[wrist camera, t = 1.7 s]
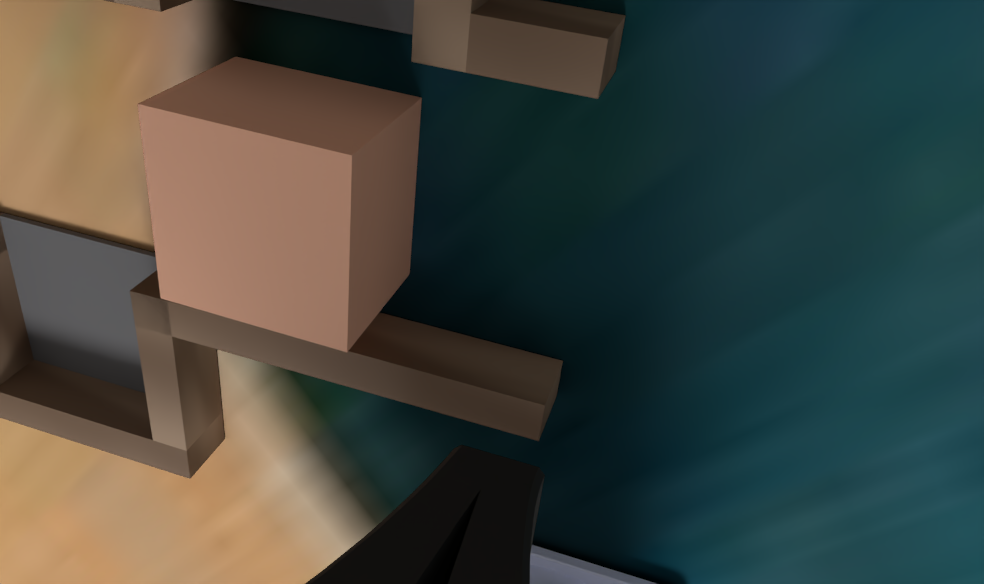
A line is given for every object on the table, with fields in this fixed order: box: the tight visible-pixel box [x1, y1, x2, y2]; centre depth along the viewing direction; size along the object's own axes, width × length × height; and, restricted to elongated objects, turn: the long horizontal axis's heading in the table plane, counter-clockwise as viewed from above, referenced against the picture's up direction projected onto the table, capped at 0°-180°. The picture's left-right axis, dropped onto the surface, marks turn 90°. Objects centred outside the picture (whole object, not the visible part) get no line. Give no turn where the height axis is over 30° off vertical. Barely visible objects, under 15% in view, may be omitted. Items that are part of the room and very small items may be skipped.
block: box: [138, 57, 422, 352], centre depth 21 cm, size 5×5×4 cm
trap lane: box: [0, 0, 625, 479], centre depth 23 cm, size 22×31×3 cm
